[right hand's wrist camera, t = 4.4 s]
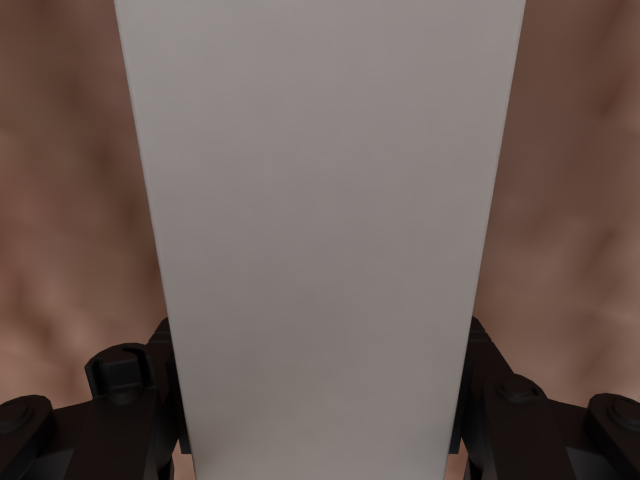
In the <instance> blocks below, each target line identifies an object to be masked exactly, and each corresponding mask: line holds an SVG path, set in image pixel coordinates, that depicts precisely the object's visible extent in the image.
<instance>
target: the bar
mask: <svg viewBox="0 0 640 480" xmlns="http://www.w3.org/2000/svg"><path fill="white" fill-rule="evenodd" d="M525 3H526V0H114V5H115V10H116V16H117V22H118V28H119V34H120V40H121V45H122V51H123V57H124V63H125V69H126V75H127V80H128V86H129V92H130V98H131V104H132V110H133V115H134V121H135V127H136V133H137V139H138V145H139V150H140V156H141V162H142V168H143V174H144V180H145V185H146V191H147V197H148V203H149V209H150V215H151V220H152V226H153V232H154V238H155V244H156V250H157V255H158V261H159V267H160V273H161V279H162V285H163V290H164V296H165V302H166V308H167V314H168V320H169V325H170V331H171V337H172V343H173V349H174V355H175V360H176V366H177V372H178V378H179V384H180V390H181V395H182V401H183V407H184V413H185V419H186V425H187V430H188V436H189V442H190V448H191V454H192V460H193V465H194V471H195V477H196V480H444V476H445V470H446V465H447V459H448V453H449V447H450V441H451V435H452V429H453V424H454V418H455V412H456V406H457V400H458V394H459V389H460V383H461V377H462V371H463V365H464V359H465V353H466V348H467V342H468V336H469V330H470V324H471V318H472V313H473V307H474V301H475V295H476V289H477V283H478V277H479V272H480V266H481V260H482V254H483V248H484V242H485V237H486V231H487V225H488V219H489V213H490V207H491V201H492V196H493V190H494V184H495V178H496V172H497V166H498V161H499V155H500V149H501V143H502V137H503V131H504V125H505V120H506V114H507V108H508V102H509V96H510V90H511V85H512V79H513V73H514V67H515V61H516V55H517V49H518V44H519V38H520V32H521V26H522V20H523V14H524V9H525Z"/></svg>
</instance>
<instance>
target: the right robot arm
mask: <svg viewBox="0 0 640 480" xmlns="http://www.w3.org/2000/svg"><path fill="white" fill-rule="evenodd" d="M84 368H85V372H86V375H87V379H88V382H89V386H90V389H91V393H92V396H93V399H92V400H91V401H88V402H84V403H81V404H76V405H72V406H68V407H63V408H59V409H55V410H53V407H52V404H51V401H50V400H49V399H47V398H46V397H45V396H40V395H28V396H21V397H18V398H15V399H12V400H10V401H7V402H5V403H3V404H1V405H0V480H174V464H173V458H172V453H173V450H174V448H175V445H176V443H177V440H178V438H179V443H180V448H181V454H191V448H190V442H189V436H188V430H187V425H186V419H185V413H184V407H183V401H182V395H181V390H180V384H179V378H178V372H177V366H176V360H175V355H174V349H173V343H172V337H171V331H170V325H169V320H168V317H167V318H165V319H164V320H162V322H161V323H160V325H159V326H158V328H157V329H156V331H155V334H153V335H152V337H151V338H150V340H149V341H148V343H147V344H146V345H144V344H140V343H123V344H119V345H115V346H112V347H110V348H107V349H105V350H103V351H101V352H99V353H98V354H96V355H95V356H94V357H92V358H91V359H90V360H89V361H88V363H87V364H86V366H85V367H84ZM461 437H462V439H463V442H464V444H465V447H466V449H467V452H468V458H467V463H466V468H465V473H464V478H463V480H640V403H639V402H637V401H635V400H633V399H630V398H627V397H624V396H621V395H617V394H610V393H603V394H596V395H595V396H593V397H592V398H591V399H590V400H589V403H588V406H587V408H584V407H579V406H575V405H570V404H566V403H562V402H558V401H554V400H551V399H548V398H547V396H546V395H545V393H544V392H543V390H542V389H541V388H540V387H539V386H538V385H536V384H535V383H534V382H533V381H531V380H529V379H527V378H525V377H523V376H522V375H518V374H515V373H514V372H513V371H512V370H511V368H510V367H509V365H508V364H507V362H506V361H505V359H504V358H503V356H502V355H501V353H500V352H499V350H498V349H497V347H496V346H495V344H494V343H493V342H492V341H491V338H490V337H489V335H488V334H487V333H485V329H484V328H483V326H482V325H481V323H480V322H479V321H478V319H476V318H475V317H474V316H472V318H471V324H470V330H469V336H468V342H467V348H466V353H465V359H464V365H463V371H462V377H461V383H460V389H459V394H458V400H457V406H456V412H455V418H454V424H453V429H452V435H451V441H450V447H449V453H448V454H458V452H459V447H460V441H461Z"/></svg>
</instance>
